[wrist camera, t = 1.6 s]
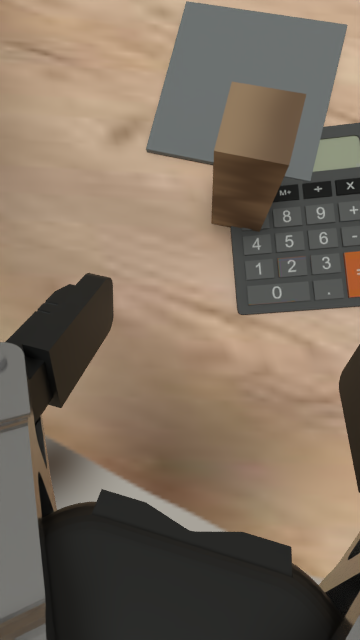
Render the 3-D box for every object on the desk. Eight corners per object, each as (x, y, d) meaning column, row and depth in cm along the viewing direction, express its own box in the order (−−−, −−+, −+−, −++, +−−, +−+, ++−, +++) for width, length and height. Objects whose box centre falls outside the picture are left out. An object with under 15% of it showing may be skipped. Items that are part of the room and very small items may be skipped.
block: (211, 223, 27) (214, 150, 17) (222, 178, 27) (231, 81, 17) (258, 233, 27) (289, 165, 17) (270, 188, 27) (306, 94, 17)
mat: (146, 151, 28) (146, 149, 28) (186, 6, 29) (186, 1, 29) (308, 183, 27) (310, 181, 26) (345, 29, 28) (347, 24, 27)
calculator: (238, 314, 26) (223, 137, 27) (237, 315, 27) (223, 144, 28) (391, 303, 25) (368, 120, 26) (384, 304, 26) (362, 127, 27)
